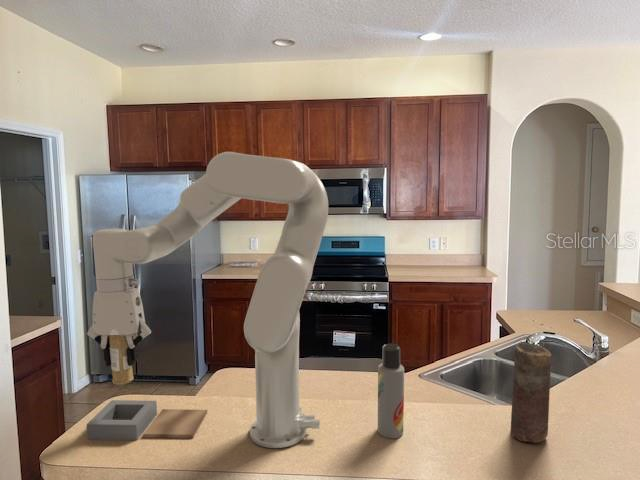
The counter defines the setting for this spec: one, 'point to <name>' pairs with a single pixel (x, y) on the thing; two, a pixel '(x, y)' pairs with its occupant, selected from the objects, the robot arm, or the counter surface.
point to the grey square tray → (113, 429)
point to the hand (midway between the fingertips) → (121, 362)
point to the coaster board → (175, 424)
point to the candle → (530, 393)
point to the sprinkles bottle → (119, 359)
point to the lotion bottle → (390, 393)
